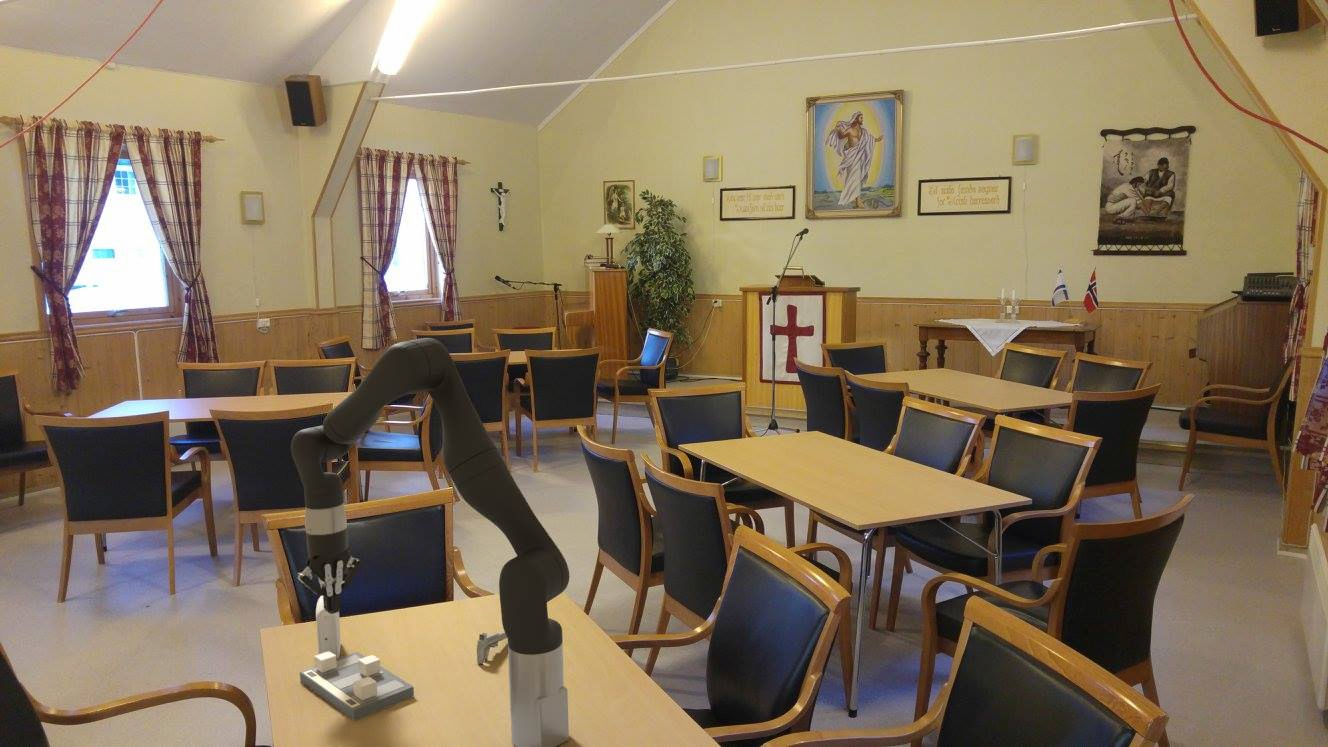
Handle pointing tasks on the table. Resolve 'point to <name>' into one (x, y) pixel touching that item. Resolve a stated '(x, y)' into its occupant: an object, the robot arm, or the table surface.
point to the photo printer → (327, 630)
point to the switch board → (341, 687)
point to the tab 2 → (365, 688)
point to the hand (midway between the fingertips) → (333, 612)
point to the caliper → (487, 644)
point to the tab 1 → (325, 661)
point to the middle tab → (369, 665)
